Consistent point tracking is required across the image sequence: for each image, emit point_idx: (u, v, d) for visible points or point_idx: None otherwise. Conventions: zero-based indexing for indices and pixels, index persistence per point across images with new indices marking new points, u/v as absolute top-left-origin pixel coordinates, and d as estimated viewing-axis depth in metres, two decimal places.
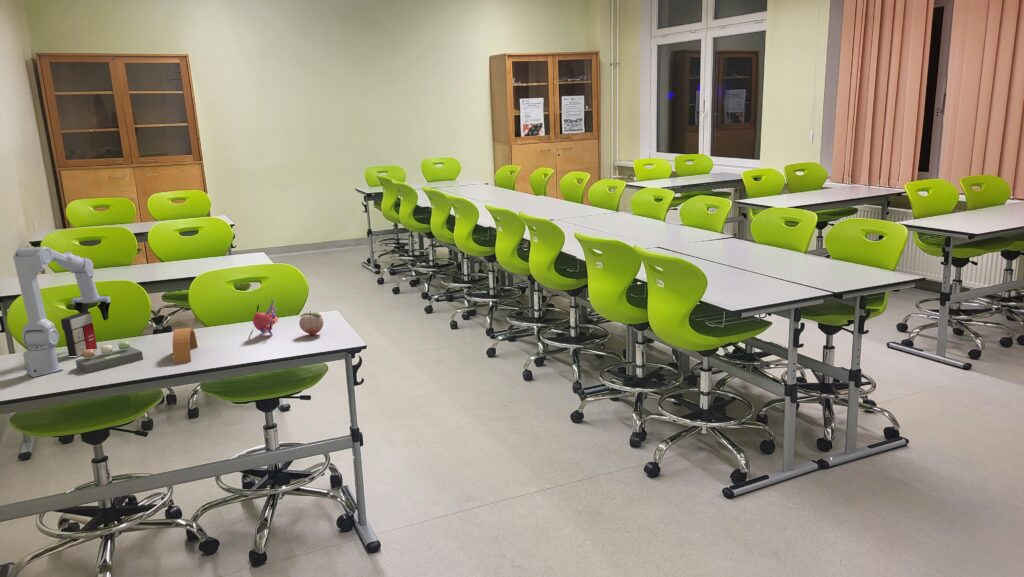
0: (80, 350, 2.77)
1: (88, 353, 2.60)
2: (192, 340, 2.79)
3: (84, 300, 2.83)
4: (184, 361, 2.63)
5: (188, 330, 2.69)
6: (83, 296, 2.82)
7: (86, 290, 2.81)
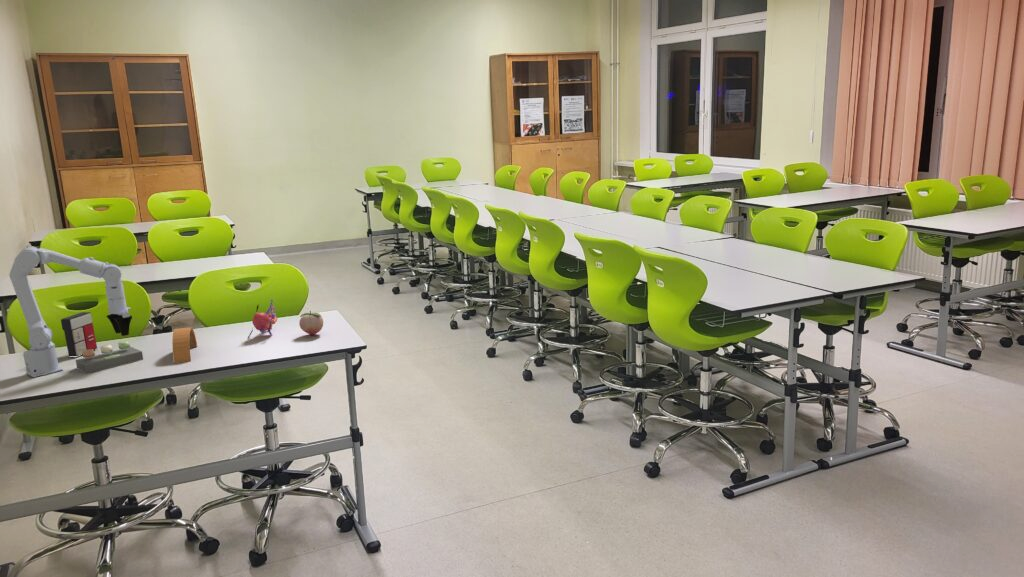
0: (80, 350, 2.77)
1: (88, 353, 2.60)
2: (192, 339, 2.80)
3: (109, 310, 2.66)
4: (184, 360, 2.63)
5: (188, 329, 2.70)
6: None
7: (109, 300, 2.64)
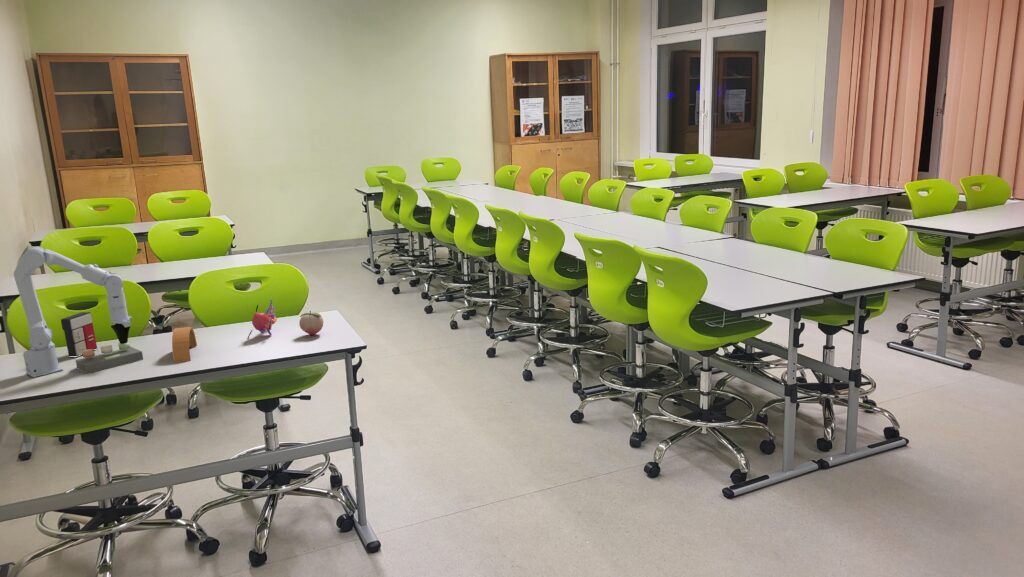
0: (80, 350, 2.77)
1: (88, 353, 2.60)
2: (191, 339, 2.81)
3: (110, 319, 2.66)
4: (184, 360, 2.64)
5: (187, 329, 2.70)
6: (110, 315, 2.66)
7: (111, 309, 2.64)
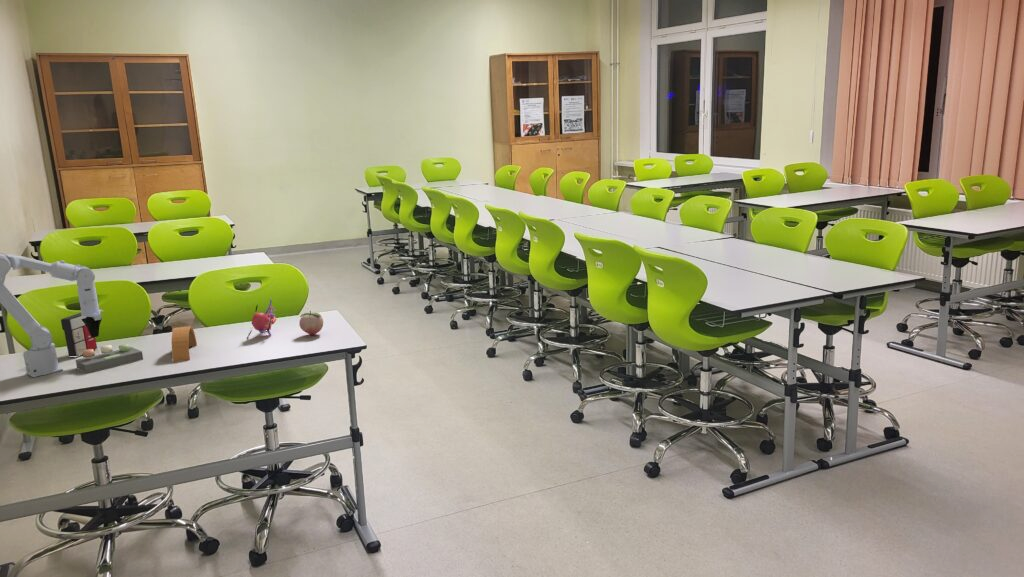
0: (80, 350, 2.77)
1: (88, 353, 2.60)
2: (191, 338, 2.82)
3: (81, 312, 2.64)
4: (183, 359, 2.65)
5: (187, 328, 2.71)
6: None
7: (81, 302, 2.62)
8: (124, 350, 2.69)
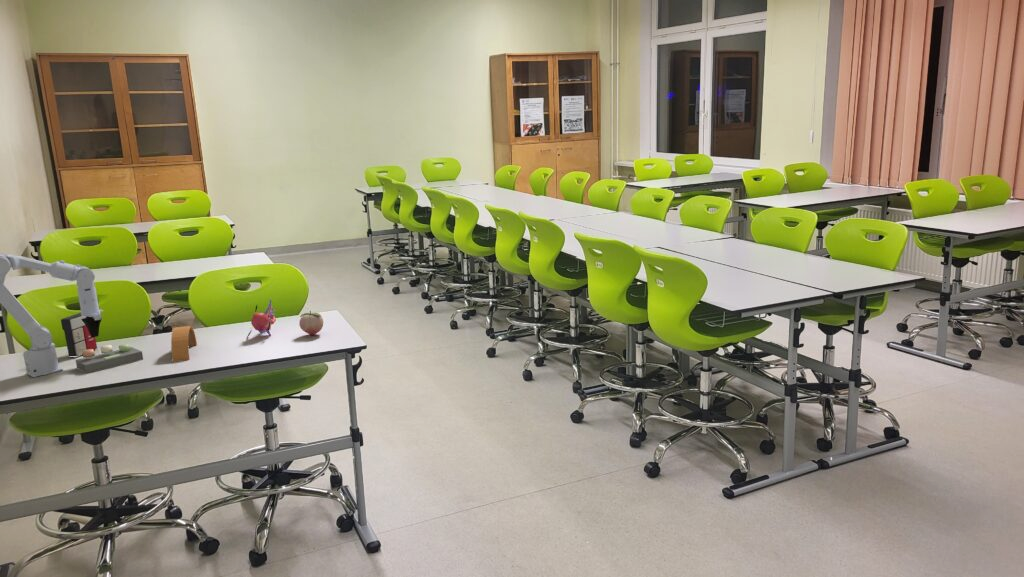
0: (80, 350, 2.77)
1: (88, 353, 2.60)
2: (191, 338, 2.82)
3: (81, 312, 2.64)
4: (182, 359, 2.65)
5: (187, 328, 2.72)
6: None
7: (81, 302, 2.62)
8: (124, 350, 2.69)
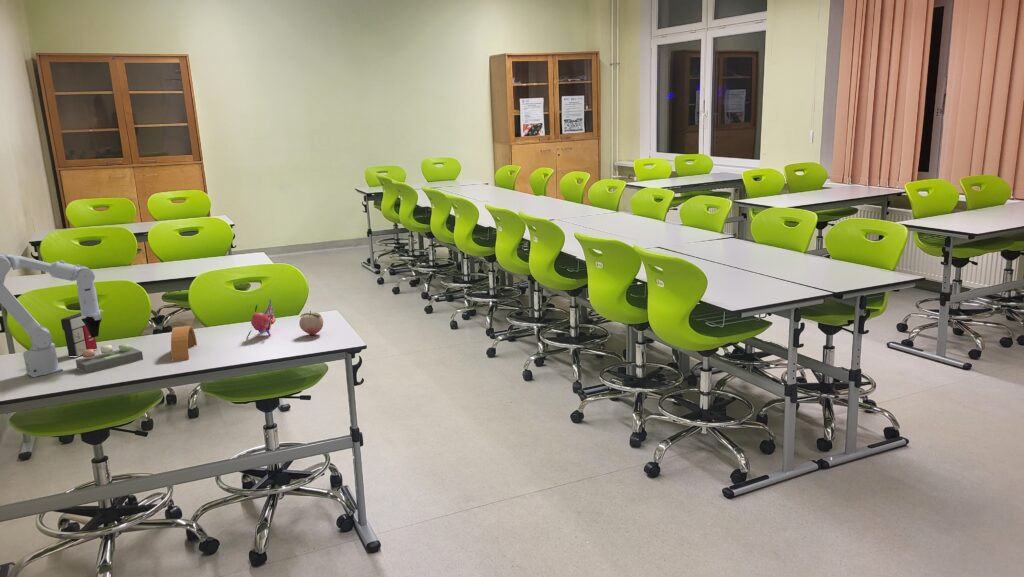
0: (80, 350, 2.77)
1: (88, 353, 2.60)
2: (191, 338, 2.83)
3: (81, 312, 2.64)
4: (182, 359, 2.66)
5: (187, 328, 2.72)
6: None
7: (81, 302, 2.62)
8: (124, 350, 2.69)
